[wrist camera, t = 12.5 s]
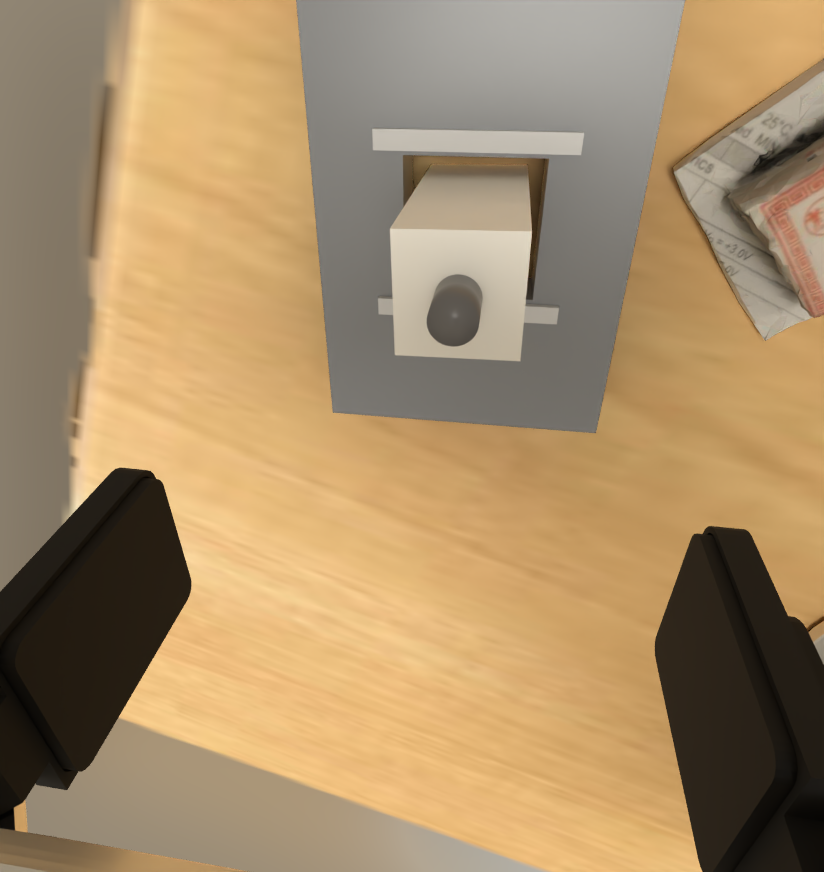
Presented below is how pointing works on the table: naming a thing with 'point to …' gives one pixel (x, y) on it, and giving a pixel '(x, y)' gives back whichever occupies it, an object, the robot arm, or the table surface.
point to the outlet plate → (483, 137)
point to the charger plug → (462, 263)
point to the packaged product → (767, 203)
